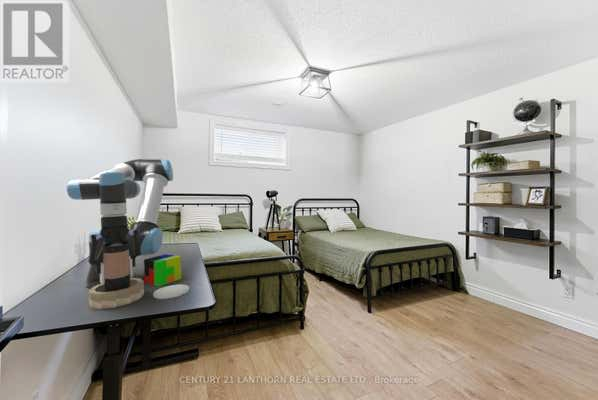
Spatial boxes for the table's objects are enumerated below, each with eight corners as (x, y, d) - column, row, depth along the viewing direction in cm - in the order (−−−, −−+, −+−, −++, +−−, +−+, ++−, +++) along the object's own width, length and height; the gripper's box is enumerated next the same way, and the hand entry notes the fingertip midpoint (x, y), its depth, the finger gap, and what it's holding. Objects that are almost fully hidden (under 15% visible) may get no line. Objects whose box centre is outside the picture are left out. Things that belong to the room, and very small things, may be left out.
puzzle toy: (166, 275, 115) (165, 254, 115) (181, 278, 111) (180, 256, 110) (144, 282, 107) (143, 259, 106) (159, 286, 102) (158, 262, 102)
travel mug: (118, 304, 86) (115, 246, 84) (98, 302, 87) (96, 245, 85) (135, 294, 93) (134, 241, 92) (117, 293, 94) (115, 240, 93)
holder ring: (86, 300, 89) (85, 286, 89) (136, 287, 101) (135, 275, 101) (94, 313, 79) (93, 297, 79) (149, 297, 90) (148, 284, 90)
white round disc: (148, 293, 95) (148, 291, 95) (181, 284, 103) (181, 282, 103) (160, 302, 86) (160, 299, 86) (194, 291, 95) (194, 289, 95)
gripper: (77, 218, 79) (80, 290, 80) (149, 213, 94) (152, 274, 95) (74, 217, 84) (77, 285, 85) (143, 213, 99) (145, 270, 100)
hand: (116, 279), depth 90 cm, fingers closed on travel mug, 8 cm apart
